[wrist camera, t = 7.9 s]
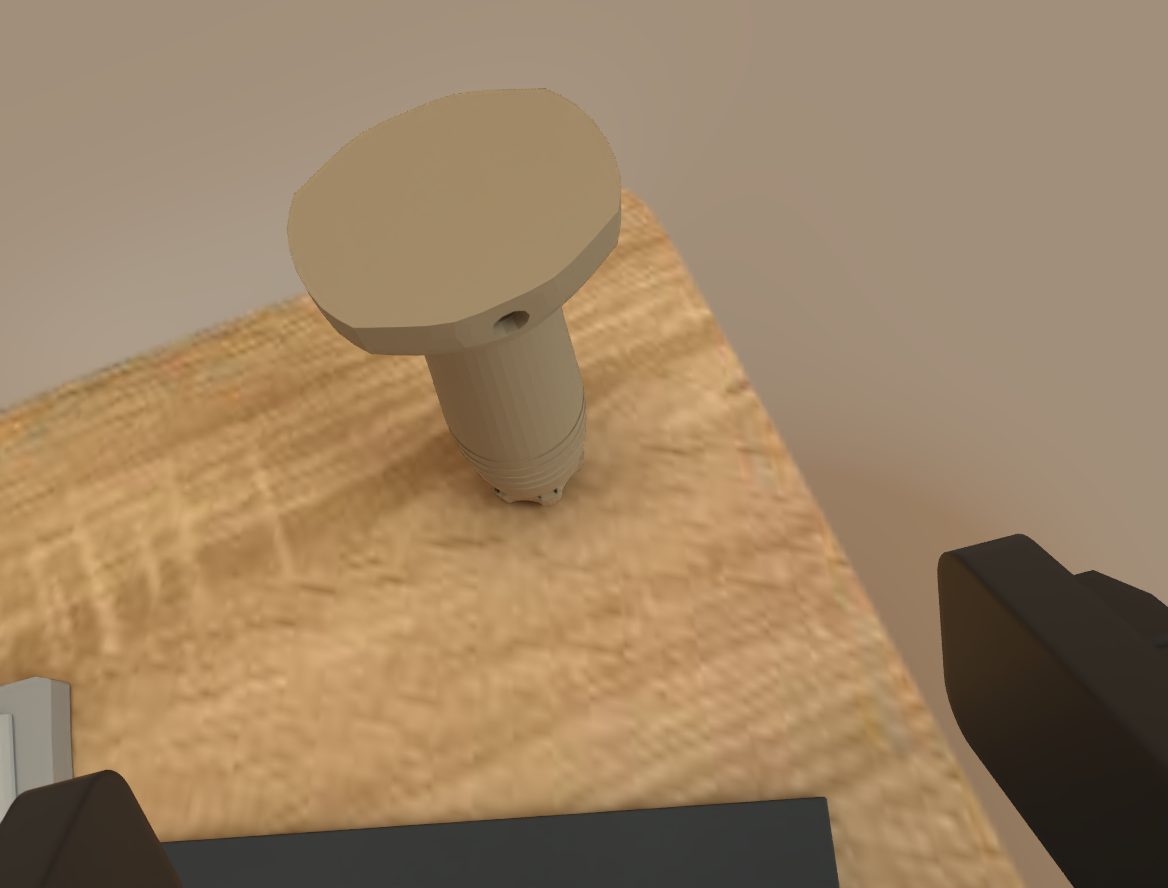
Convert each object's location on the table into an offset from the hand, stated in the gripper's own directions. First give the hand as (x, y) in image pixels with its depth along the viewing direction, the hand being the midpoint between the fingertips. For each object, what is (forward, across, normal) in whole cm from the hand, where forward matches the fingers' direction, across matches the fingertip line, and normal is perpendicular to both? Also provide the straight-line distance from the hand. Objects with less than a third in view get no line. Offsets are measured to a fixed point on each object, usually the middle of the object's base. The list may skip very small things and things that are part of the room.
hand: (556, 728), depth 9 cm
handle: (+22, 0, -7) cm, 23 cm away
